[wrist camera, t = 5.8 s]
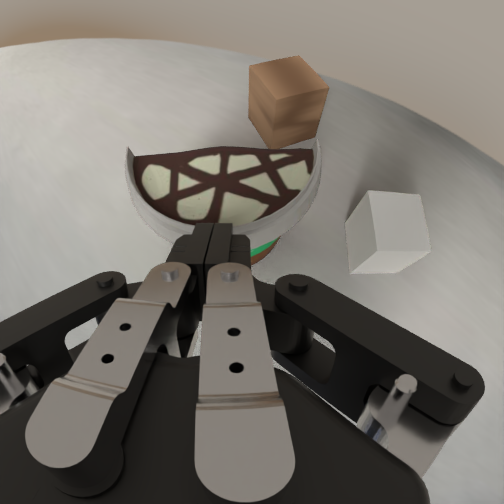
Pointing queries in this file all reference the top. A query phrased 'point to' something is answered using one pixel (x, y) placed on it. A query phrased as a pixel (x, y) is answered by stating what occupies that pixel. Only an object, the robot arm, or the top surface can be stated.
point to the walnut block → (285, 101)
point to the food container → (225, 191)
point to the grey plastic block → (386, 233)
